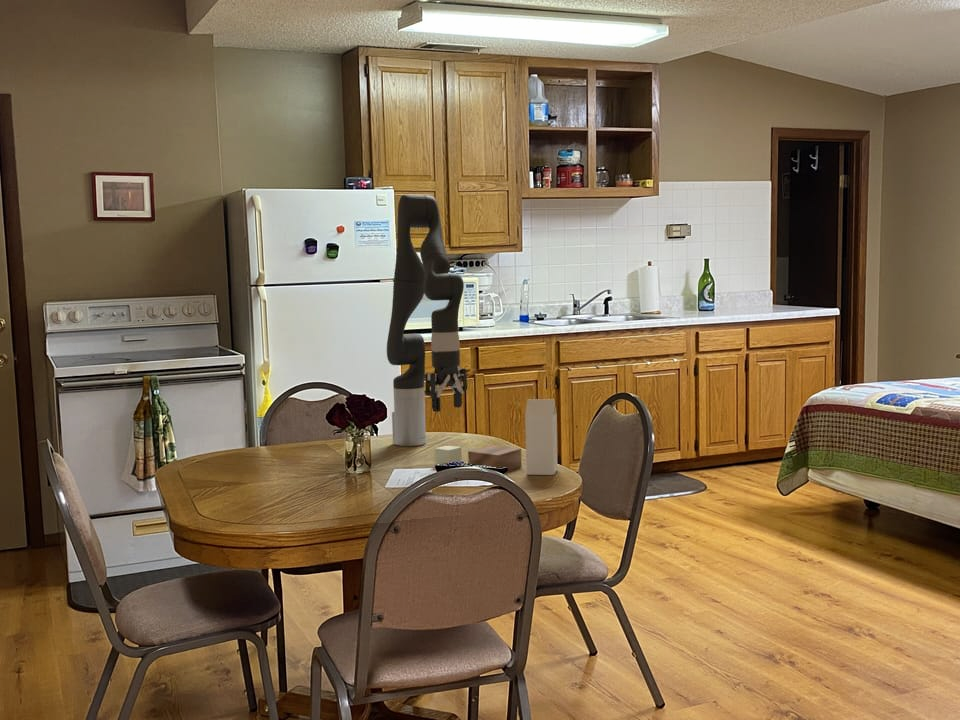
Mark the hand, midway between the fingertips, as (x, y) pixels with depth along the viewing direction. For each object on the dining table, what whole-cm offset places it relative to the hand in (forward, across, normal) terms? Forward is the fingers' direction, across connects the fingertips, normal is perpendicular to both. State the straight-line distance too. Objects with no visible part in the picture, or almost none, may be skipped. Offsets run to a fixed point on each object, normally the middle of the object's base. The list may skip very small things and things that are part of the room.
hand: (447, 409), depth 268 cm
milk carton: (+16, -7, +26) cm, 31 cm away
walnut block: (+16, -5, +12) cm, 20 cm away
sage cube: (+15, 0, 0) cm, 15 cm away
